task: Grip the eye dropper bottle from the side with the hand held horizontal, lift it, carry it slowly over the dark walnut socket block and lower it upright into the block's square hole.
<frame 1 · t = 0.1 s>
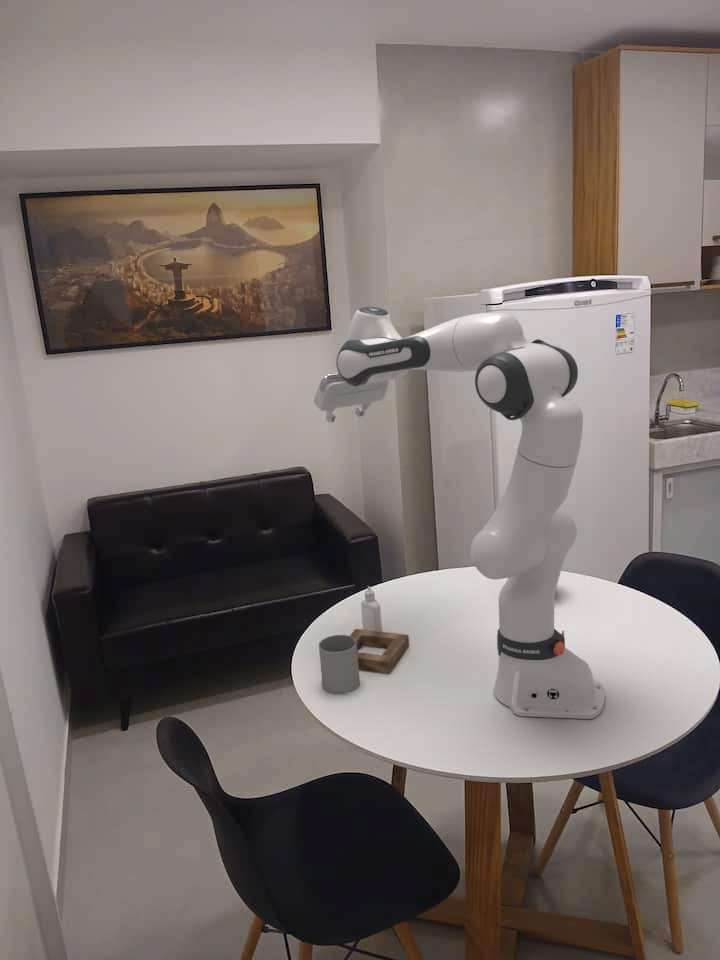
hand: (344, 418, 183), 54 cm above the table, tool tilted 30°, fingers open, 8 cm apart
eye dropper bottle: (372, 631, 188), on the table
plant pot: (529, 597, 201), on the table
socket block: (372, 656, 174), on the table
cup: (341, 685, 162), on the table
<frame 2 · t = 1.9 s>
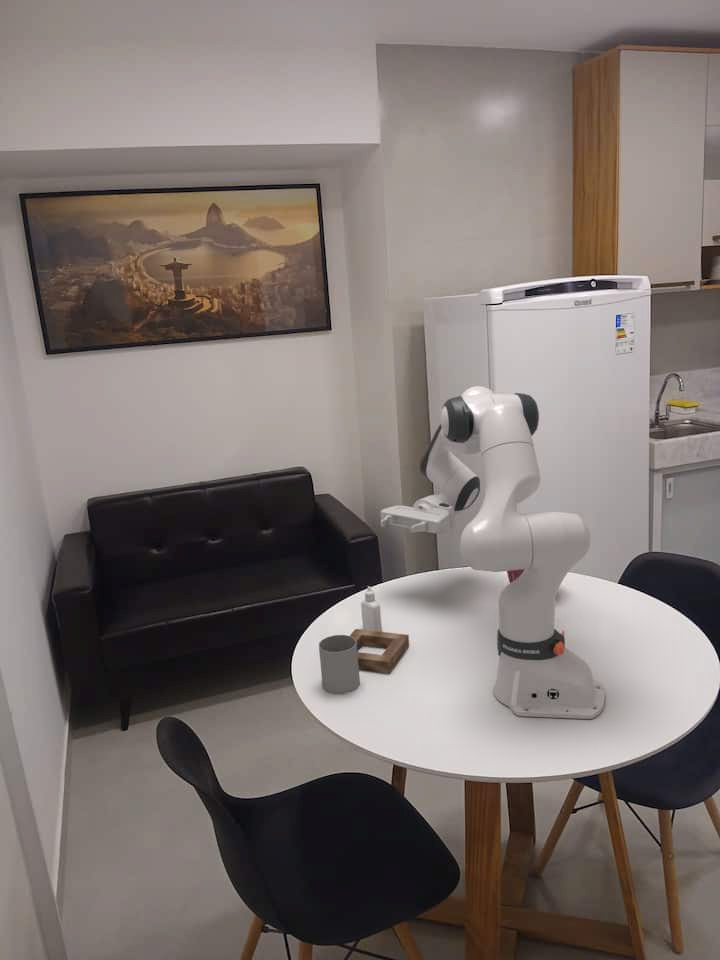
hand: (396, 527, 190), 24 cm above the table, tool horizontal, fingers open, 8 cm apart
nothing on the table moved.
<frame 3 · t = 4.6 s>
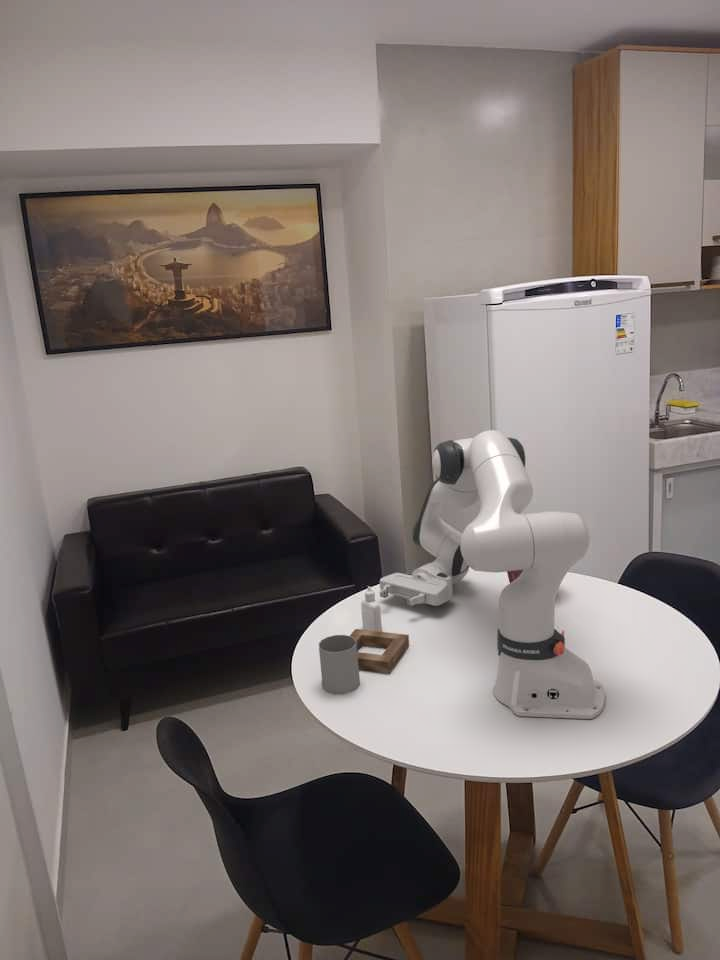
hand: (395, 598, 193), 5 cm above the table, tool horizontal, fingers open, 8 cm apart
nothing on the table moved.
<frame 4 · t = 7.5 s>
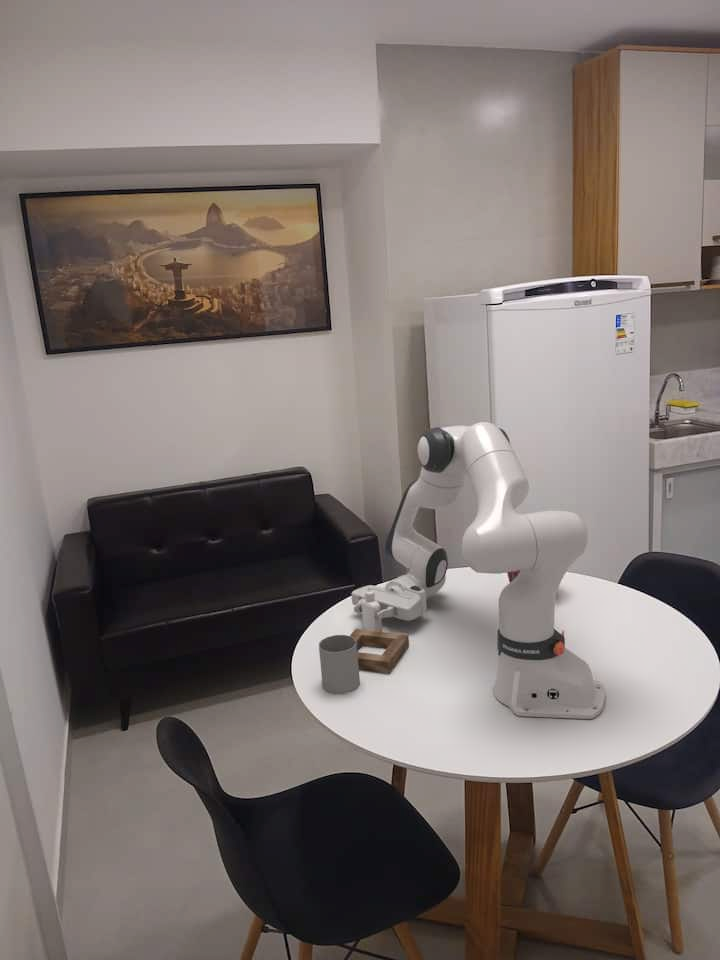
hand: (366, 613, 185), 6 cm above the table, tool horizontal, fingers closed on eye dropper bottle, 6 cm apart
eye dropper bottle: (372, 631, 188), on the table, touching gripper
everything else where it was.
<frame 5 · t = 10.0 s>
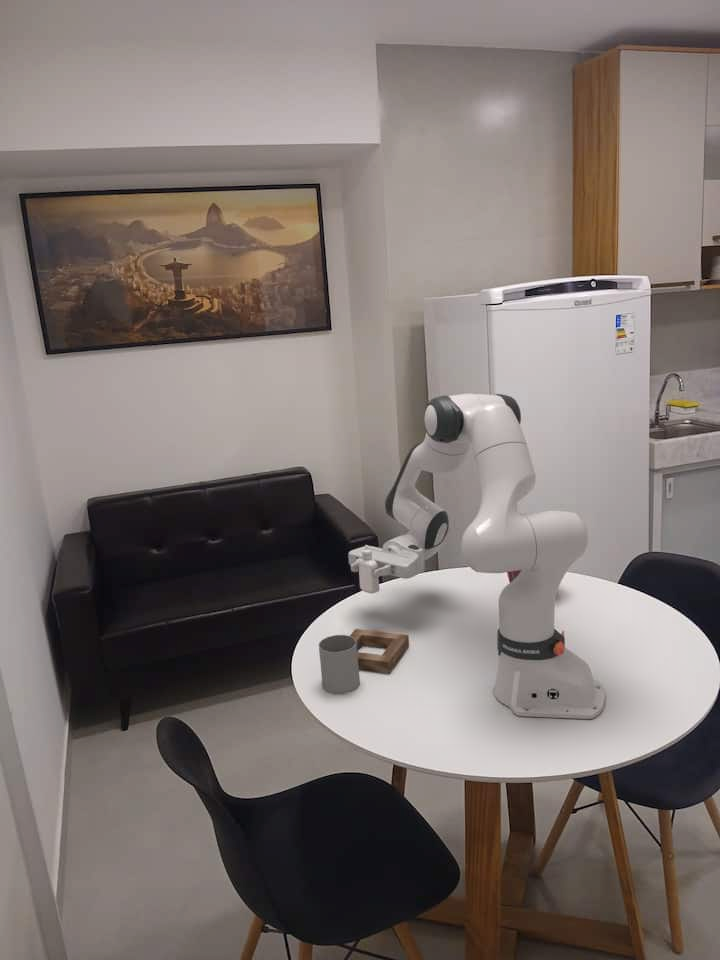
hand: (363, 571, 182), 17 cm above the table, tool horizontal, fingers closed on eye dropper bottle, 6 cm apart
eye dropper bottle: (369, 590, 185), point 11 cm above the table, touching gripper
everything else where it was.
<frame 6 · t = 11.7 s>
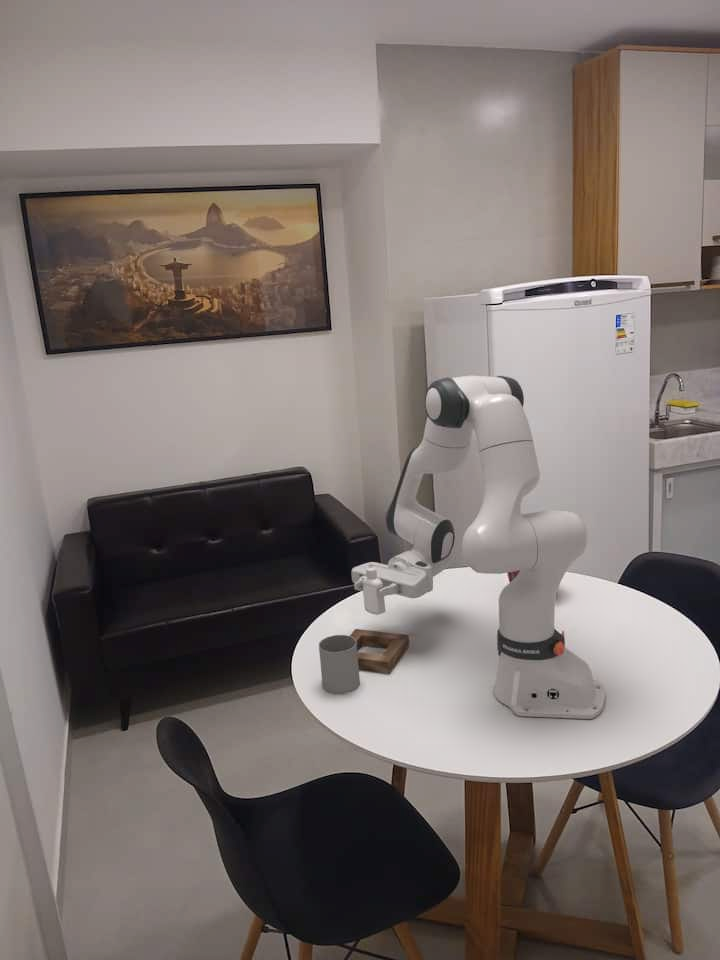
hand: (367, 590, 170), 17 cm above the table, tool horizontal, fingers closed on eye dropper bottle, 6 cm apart
eye dropper bottle: (375, 611, 173), point 11 cm above the table, touching gripper
everything else where it was.
when the fingers open (7 cm above the table, at t = 14.7 s): eye dropper bottle stays where it is, resting in socket block.
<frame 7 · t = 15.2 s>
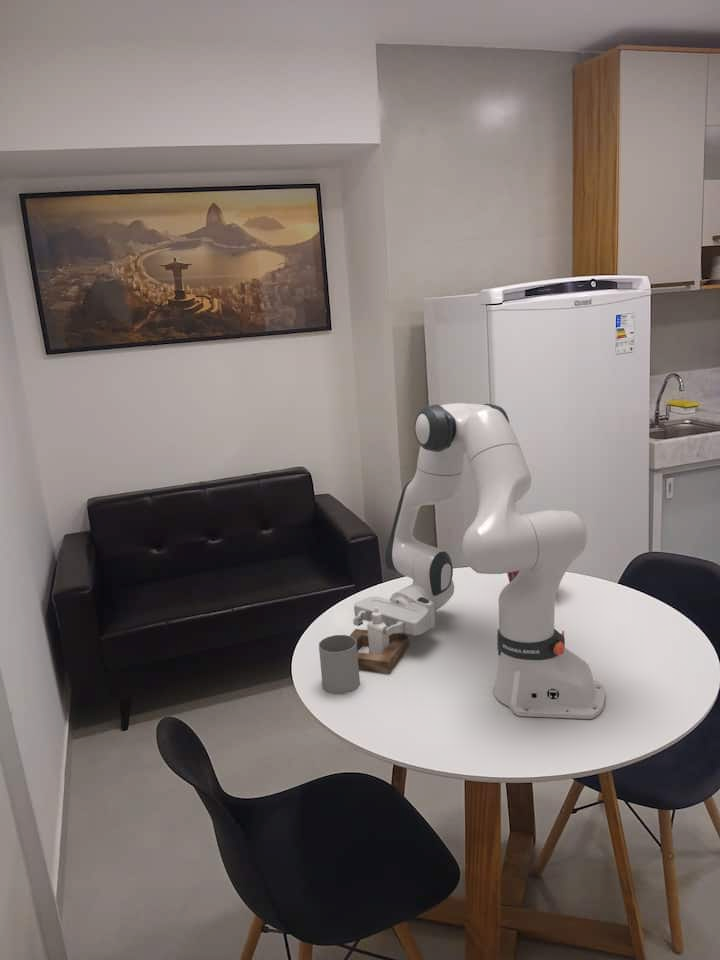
hand: (370, 627, 172), 7 cm above the table, tool horizontal, fingers open, 8 cm apart
eye dropper bottle: (379, 654, 175), resting in socket block
everything else where it was.
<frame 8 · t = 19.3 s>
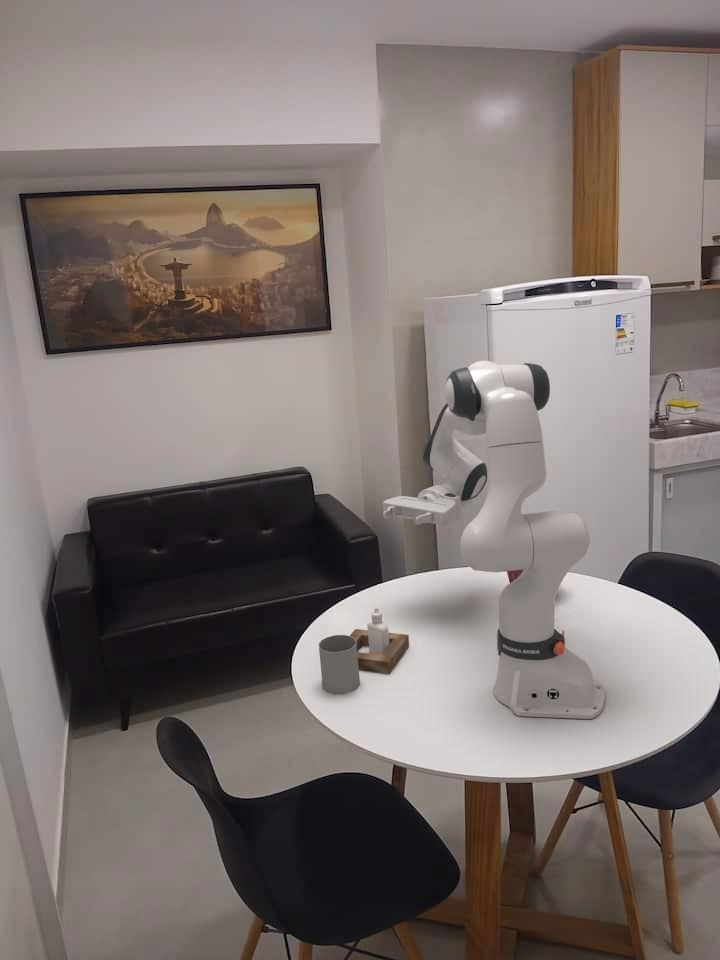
hand: (399, 518, 179), 30 cm above the table, tool horizontal, fingers open, 8 cm apart
nothing on the table moved.
at the end: eye dropper bottle inside the target area on the socket block (2.0 cm from its centre), point 0.0 cm above the socket block's base; eye dropper bottle tilted 0°; the gripper is holding nothing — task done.
